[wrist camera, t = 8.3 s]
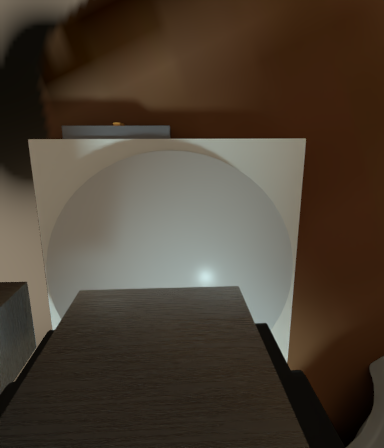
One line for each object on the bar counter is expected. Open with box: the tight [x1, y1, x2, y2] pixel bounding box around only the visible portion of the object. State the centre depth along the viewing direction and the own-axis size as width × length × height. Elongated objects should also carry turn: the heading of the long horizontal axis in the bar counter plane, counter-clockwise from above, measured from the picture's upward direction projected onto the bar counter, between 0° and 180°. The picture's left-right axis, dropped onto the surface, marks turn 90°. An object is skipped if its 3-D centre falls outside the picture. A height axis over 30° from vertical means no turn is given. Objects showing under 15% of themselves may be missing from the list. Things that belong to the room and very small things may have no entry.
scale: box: [28, 123, 306, 362], centre depth 17 cm, size 13×14×4 cm
